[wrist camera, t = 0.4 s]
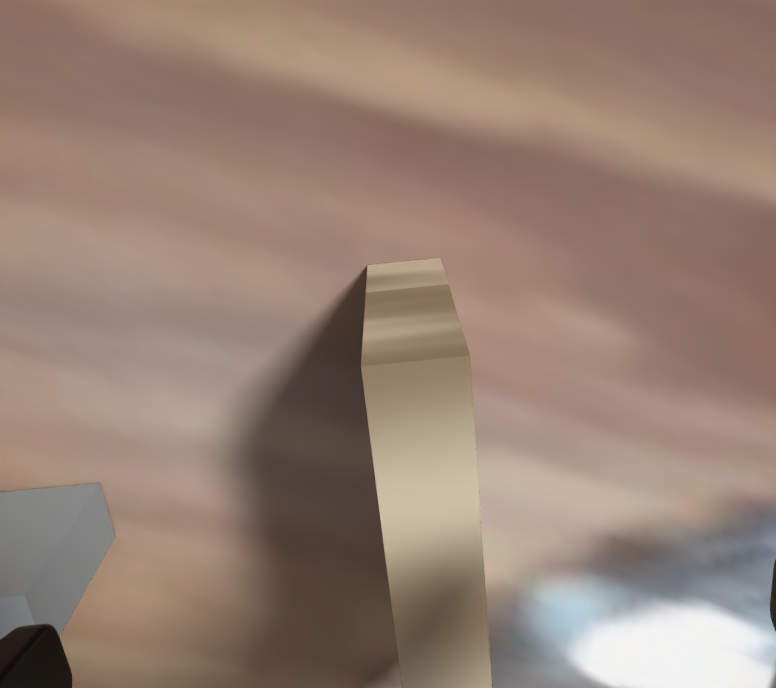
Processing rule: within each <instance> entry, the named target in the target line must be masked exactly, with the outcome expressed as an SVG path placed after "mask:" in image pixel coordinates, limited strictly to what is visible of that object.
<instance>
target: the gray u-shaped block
mask: <svg viewBox="0 0 776 688" xmlns="http://www.w3.org/2000/svg"><path fill="white" fill-rule="evenodd" d="M114 538H115V533H114V530H113V526H112V523H111V520H110V516H109V513H108V509H107V506H106V503H105V499H104V496H103V492H102V489H101V485H100V483H94V484H83V485H73V486H62V487H51V488H41V489H30V490H20V491H9V492H0V639H1V638H3V637H4V636H6V635H7V634H8V633H10V632H11V631H12V630H14V629H15V628H17V627H20V626H25V625H35V624H50V625H52V626H54V628H55V629H56V630H57V632H58V635H59V636H60V634H61V633H62V631H63V629H64V627H65V626H66V624H67V622H68V620H69V618H70V617H71V615H72V613H73V611H74V610H75V608H76V606H77V604H78V602H79V601H80V599H81V597H82V595H83V593H84V592H85V590H86V588H87V586H88V585H89V583H90V581H91V579H92V577H93V576H94V574H95V572H96V570H97V569H98V567H99V565H100V563H101V561H102V560H103V558H104V556H105V554H106V552H107V551H108V549H109V547H110V545H111V544H112V542H113V540H114Z"/></svg>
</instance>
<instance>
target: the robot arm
mask: <svg viewBox="0 0 776 688" xmlns="http://www.w3.org/2000/svg"><path fill="white" fill-rule="evenodd" d="M770 615H771V619H772V623H773V626H774V628H775V631H776V560H775V563H774V569H773V580H772V590H771V600H770ZM0 688H72V674H71V669H70V667H69V664H68V661H67V658H66V655H65V652H64V649H63V646H62V644H61V641H60V638H59V635H58V632H57V630H56V629H55V628H54V626H52V625H50V624H35V625H25V626H20V627H17V628H15V629H14V630H12V631H11V632H10V633H8V634H7V635H6V636H4V637H3V638H1V639H0Z"/></svg>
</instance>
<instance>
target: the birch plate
mask: <svg viewBox="0 0 776 688" xmlns="http://www.w3.org/2000/svg"><path fill="white" fill-rule="evenodd" d="M361 371H362V379H363V387H364V395H365V403H366V410H367V418H368V426H369V434H370V442H371V449H372V457H373V465H374V473H375V481H376V488H377V496H378V504H379V512H380V520H381V528H382V535H383V543H384V551H385V559H386V567H387V574H388V582H389V590H390V598H391V606H392V614H393V621H394V629H395V637H396V645H397V653H398V660H399V668H400V676H401V684H402V688H492V680H491V665H490V650H489V635H488V620H487V605H486V590H485V575H484V560H483V545H482V530H481V515H480V500H479V485H478V470H477V455H476V440H475V424H474V409H473V394H472V379H471V364H470V354H469V351H468V348H467V344H466V341H465V338H464V334H463V331H462V328H461V324H460V321H459V318H458V315H457V311H456V308H455V305H454V301H453V298H452V295H451V291H450V288H449V285H448V282H447V278H446V275H445V272H444V268H443V265H442V262H441V258H434V259H424V260H414V261H404V262H395V263H385V264H375V265H368V267H367V282H366V297H365V312H364V327H363V342H362V357H361Z"/></svg>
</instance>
